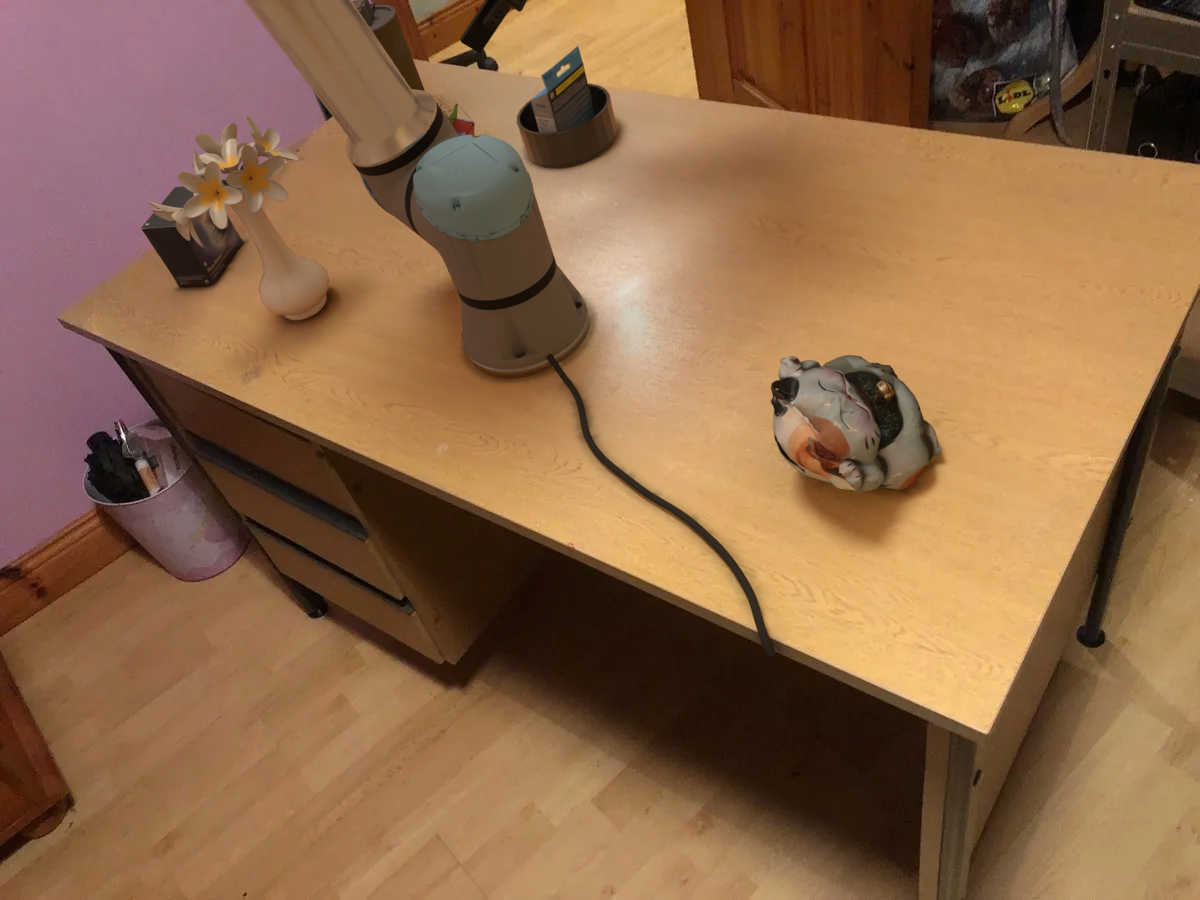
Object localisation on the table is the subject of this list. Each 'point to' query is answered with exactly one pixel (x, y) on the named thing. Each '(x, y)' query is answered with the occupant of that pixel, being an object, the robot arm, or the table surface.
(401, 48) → the canister
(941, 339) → the table surface
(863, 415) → the lucky cat figurine
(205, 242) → the small box
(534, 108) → the label tape box
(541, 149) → the round brown bowl
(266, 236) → the flower vase
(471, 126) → the geometric puzzle
